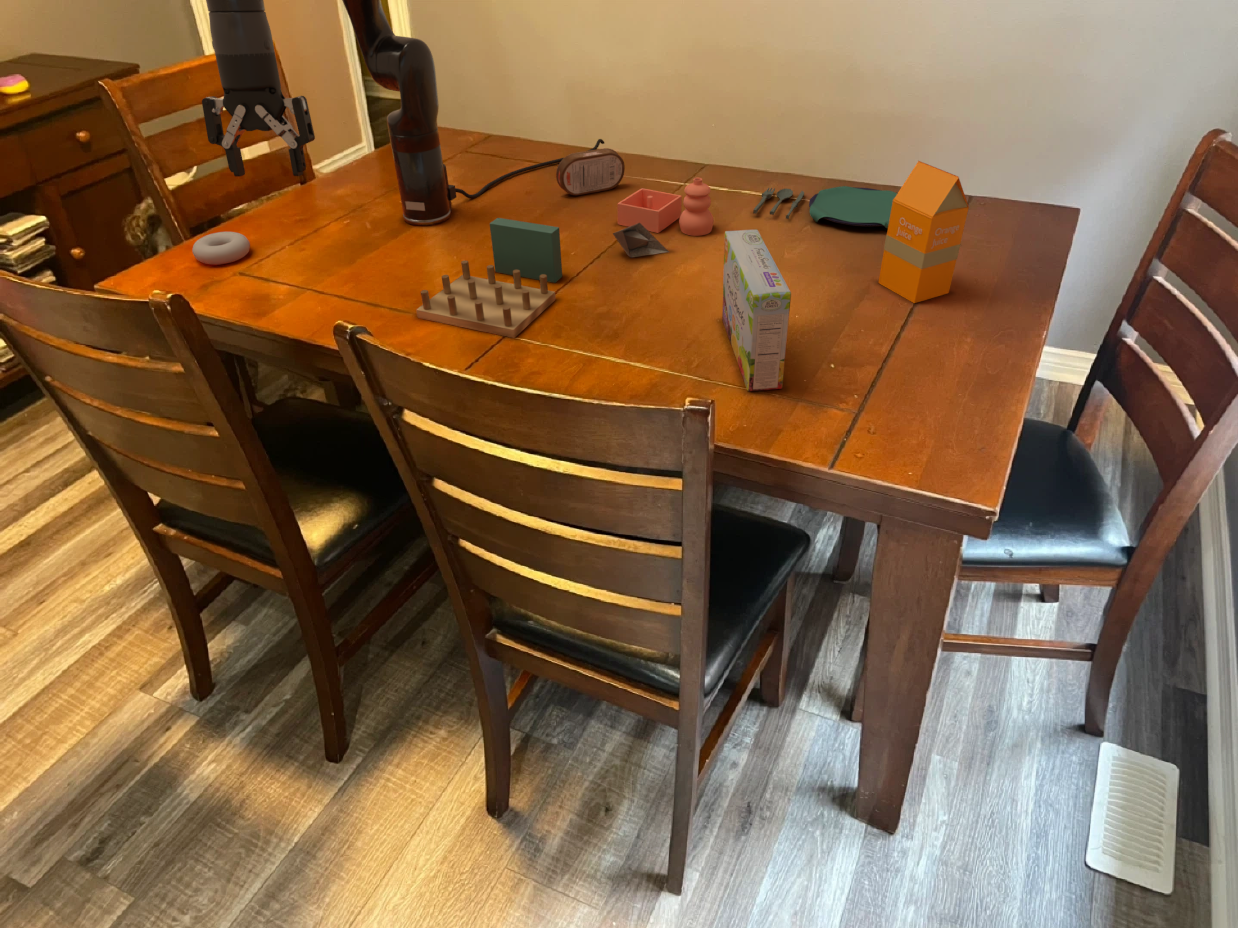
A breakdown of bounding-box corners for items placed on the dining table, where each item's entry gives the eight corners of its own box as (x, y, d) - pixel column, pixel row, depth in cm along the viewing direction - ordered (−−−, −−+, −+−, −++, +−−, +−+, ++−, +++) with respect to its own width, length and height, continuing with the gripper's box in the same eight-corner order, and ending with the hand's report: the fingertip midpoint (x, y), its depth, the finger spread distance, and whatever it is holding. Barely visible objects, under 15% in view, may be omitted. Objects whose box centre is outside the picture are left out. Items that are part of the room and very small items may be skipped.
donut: (184, 266, 156) (233, 269, 155) (178, 248, 154) (227, 251, 153) (215, 244, 164) (262, 246, 162) (209, 227, 162) (257, 229, 160)
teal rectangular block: (503, 265, 154) (497, 217, 148) (562, 276, 150) (559, 227, 144) (495, 272, 152) (489, 223, 146) (555, 283, 148) (551, 233, 142)
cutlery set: (904, 239, 159) (906, 228, 158) (747, 220, 168) (747, 208, 167) (916, 202, 174) (918, 191, 172) (770, 186, 183) (771, 175, 181)
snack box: (718, 320, 135) (723, 229, 126) (753, 318, 136) (760, 227, 127) (745, 392, 119) (753, 293, 110) (784, 390, 119) (796, 291, 110)
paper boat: (650, 232, 161) (685, 233, 154) (642, 266, 162) (676, 268, 155) (603, 211, 153) (638, 211, 146) (595, 247, 153) (629, 248, 147)
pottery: (617, 224, 168) (616, 174, 162) (641, 208, 174) (641, 159, 168) (700, 241, 160) (702, 190, 154) (721, 224, 167) (724, 174, 161)
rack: (463, 282, 148) (460, 258, 146) (555, 299, 142) (554, 274, 140) (417, 317, 138) (412, 292, 136) (514, 338, 132) (511, 311, 130)
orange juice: (913, 303, 139) (939, 181, 127) (877, 282, 145) (898, 164, 133) (949, 292, 141) (978, 172, 129) (912, 272, 148) (936, 155, 136)
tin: (620, 183, 186) (619, 143, 181) (627, 187, 184) (626, 148, 179) (556, 195, 181) (554, 155, 176) (562, 200, 179) (559, 159, 174)
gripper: (306, 48, 118) (327, 170, 125) (205, 48, 118) (231, 171, 126) (286, 51, 111) (309, 180, 119) (178, 51, 111) (208, 180, 119)
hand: (269, 175), depth 122 cm, fingers open, 8 cm apart
